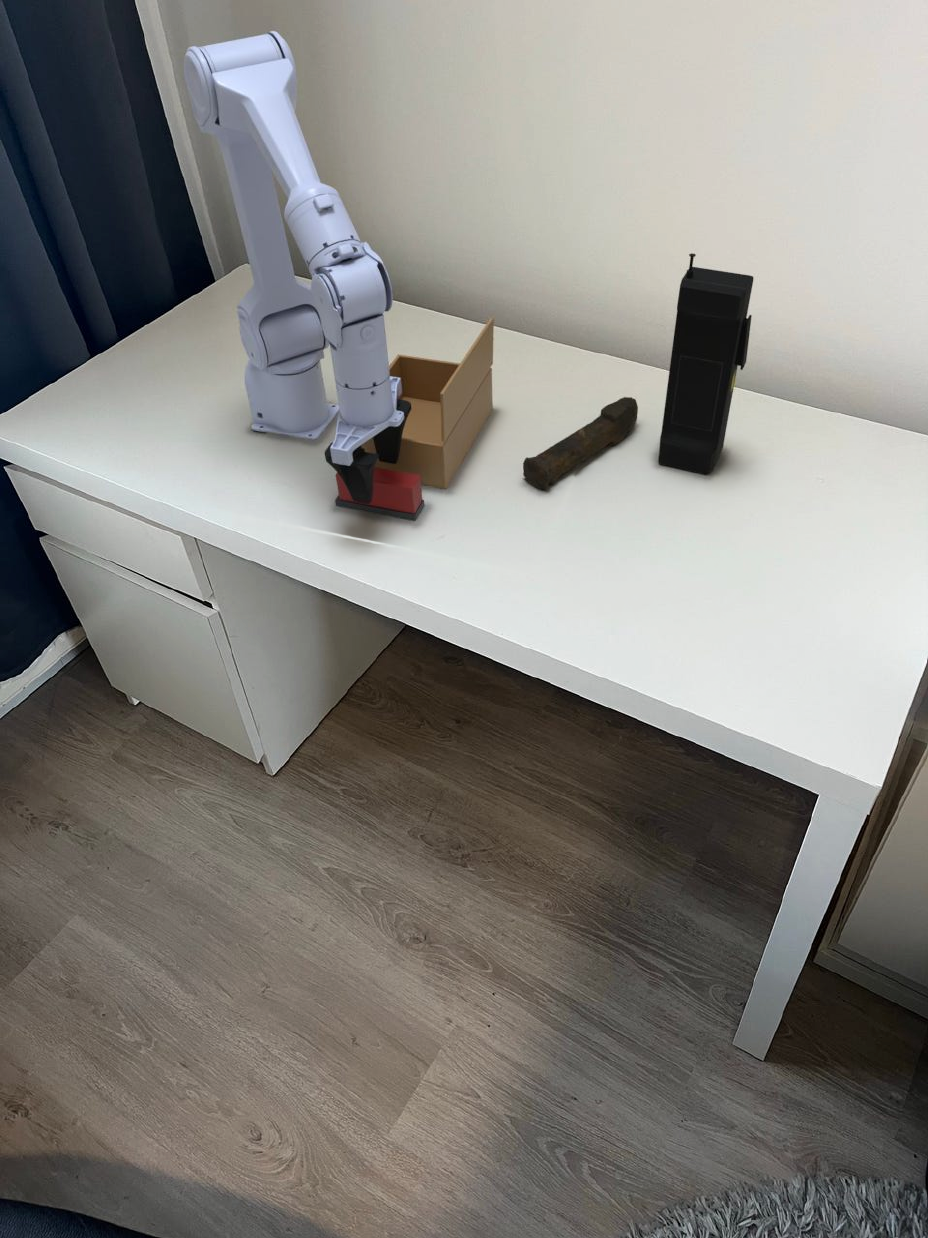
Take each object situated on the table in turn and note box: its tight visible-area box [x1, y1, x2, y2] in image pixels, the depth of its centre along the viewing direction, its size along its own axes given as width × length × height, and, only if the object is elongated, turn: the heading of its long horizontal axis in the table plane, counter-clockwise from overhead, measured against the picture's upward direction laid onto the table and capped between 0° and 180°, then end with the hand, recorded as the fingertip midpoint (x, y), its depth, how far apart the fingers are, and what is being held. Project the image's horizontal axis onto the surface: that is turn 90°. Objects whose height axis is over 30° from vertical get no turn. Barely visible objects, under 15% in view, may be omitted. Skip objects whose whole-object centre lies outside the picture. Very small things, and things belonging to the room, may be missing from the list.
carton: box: [361, 354, 494, 490], centre depth 117 cm, size 18×13×6 cm
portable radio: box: [658, 253, 754, 475], centre depth 105 cm, size 8×6×25 cm
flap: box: [440, 316, 495, 442], centre depth 110 cm, size 18×6×1 cm
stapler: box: [334, 467, 425, 522], centre depth 108 cm, size 10×3×5 cm, turn 71°
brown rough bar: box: [522, 396, 639, 491], centre depth 114 cm, size 19×4×5 cm, turn 131°
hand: (375, 480), depth 107 cm, fingers open, 7 cm apart
